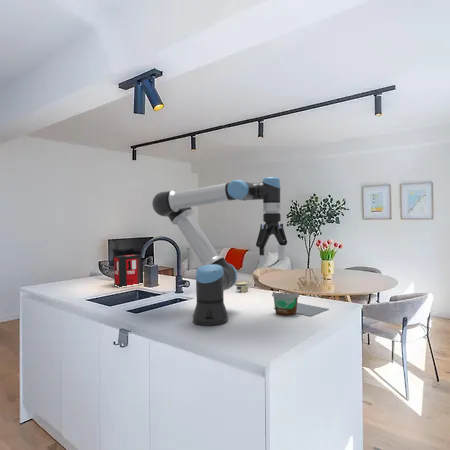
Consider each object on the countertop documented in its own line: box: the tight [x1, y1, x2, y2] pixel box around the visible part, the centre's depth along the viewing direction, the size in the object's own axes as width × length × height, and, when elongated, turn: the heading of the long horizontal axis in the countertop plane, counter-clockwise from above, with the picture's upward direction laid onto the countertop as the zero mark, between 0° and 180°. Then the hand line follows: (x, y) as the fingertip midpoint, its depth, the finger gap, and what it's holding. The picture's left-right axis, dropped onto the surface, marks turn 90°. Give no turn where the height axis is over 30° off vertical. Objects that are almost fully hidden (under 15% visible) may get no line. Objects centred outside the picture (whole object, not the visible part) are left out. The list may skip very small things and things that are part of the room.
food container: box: [271, 290, 300, 317], centre depth 159 cm, size 12×6×10 cm, turn 73°
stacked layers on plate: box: [235, 281, 249, 294], centre depth 209 cm, size 10×9×6 cm
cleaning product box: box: [113, 253, 144, 287], centre depth 236 cm, size 16×9×20 cm, turn 130°
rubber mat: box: [273, 302, 330, 317], centre depth 168 cm, size 16×20×1 cm
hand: (272, 261), depth 154 cm, fingers open, 13 cm apart
